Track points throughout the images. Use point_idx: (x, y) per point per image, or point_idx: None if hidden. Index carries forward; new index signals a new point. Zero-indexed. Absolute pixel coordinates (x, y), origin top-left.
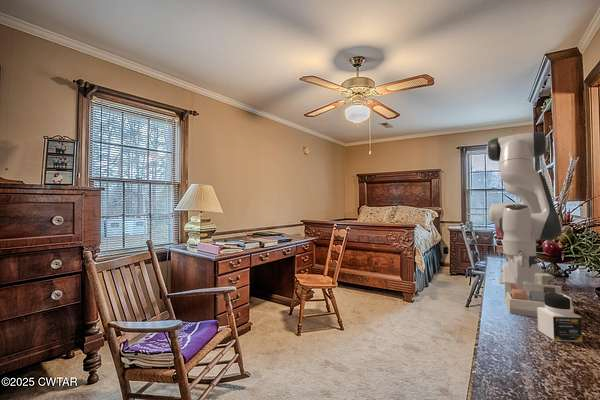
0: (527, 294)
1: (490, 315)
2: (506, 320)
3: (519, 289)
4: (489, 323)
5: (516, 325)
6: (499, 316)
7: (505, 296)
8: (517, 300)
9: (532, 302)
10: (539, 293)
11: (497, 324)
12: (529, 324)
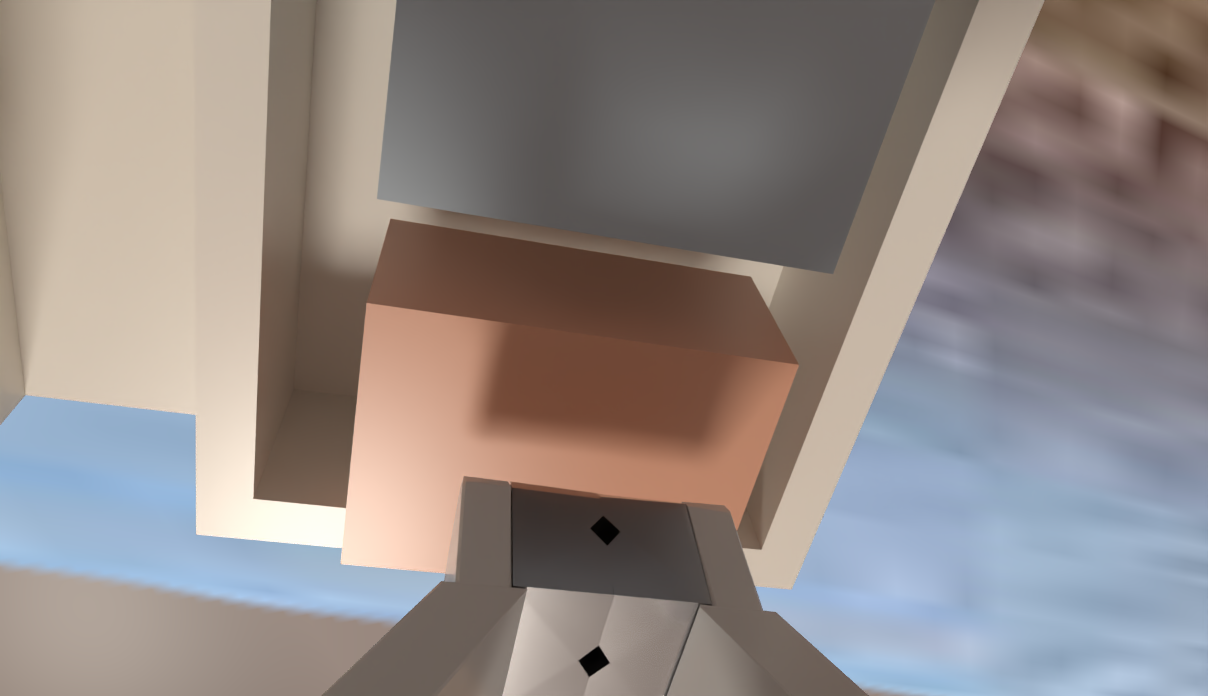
0: (238, 126)
1: (840, 633)
2: (1009, 520)
3: (355, 420)
4: (1098, 675)
5: (1177, 463)
6: (867, 558)
7: (15, 402)
8: (829, 478)
9: (933, 242)
10: (729, 5)
11: (1131, 620)
12: (1158, 311)
